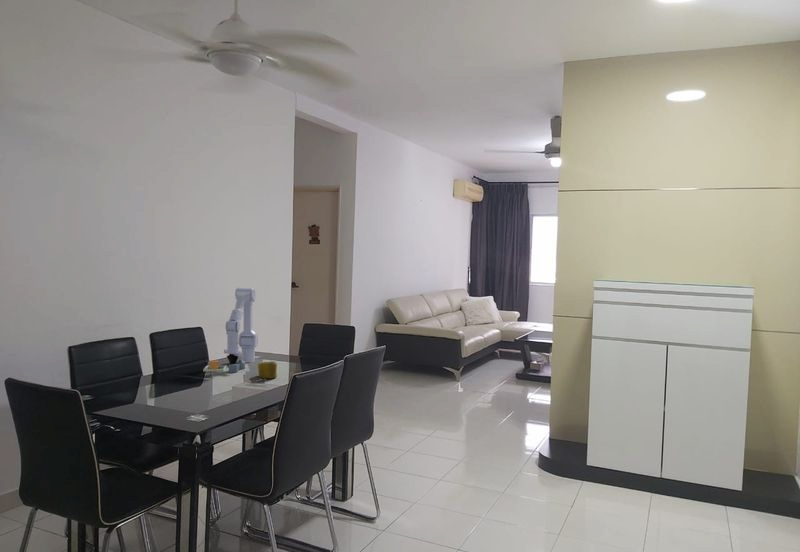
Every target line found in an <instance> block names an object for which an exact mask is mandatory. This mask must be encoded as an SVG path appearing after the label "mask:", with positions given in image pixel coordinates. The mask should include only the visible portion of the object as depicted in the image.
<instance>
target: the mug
mask: <svg viewBox="0 0 800 552" xmlns="http://www.w3.org/2000/svg"><path fill="white" fill-rule="evenodd" d="M257 368H258V369H257V371H258V376H259V378H261V380H264V379H265V380H266V379H267V380H268V379H276V378H277V370H278V362H277V361H263V362H262V361H261V362H258V363H257Z"/></svg>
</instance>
